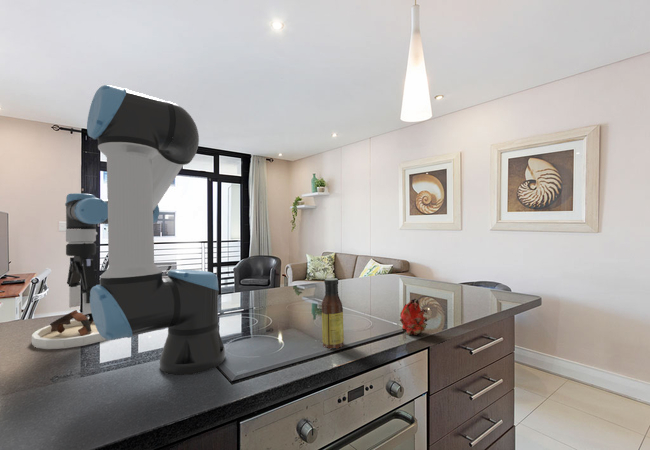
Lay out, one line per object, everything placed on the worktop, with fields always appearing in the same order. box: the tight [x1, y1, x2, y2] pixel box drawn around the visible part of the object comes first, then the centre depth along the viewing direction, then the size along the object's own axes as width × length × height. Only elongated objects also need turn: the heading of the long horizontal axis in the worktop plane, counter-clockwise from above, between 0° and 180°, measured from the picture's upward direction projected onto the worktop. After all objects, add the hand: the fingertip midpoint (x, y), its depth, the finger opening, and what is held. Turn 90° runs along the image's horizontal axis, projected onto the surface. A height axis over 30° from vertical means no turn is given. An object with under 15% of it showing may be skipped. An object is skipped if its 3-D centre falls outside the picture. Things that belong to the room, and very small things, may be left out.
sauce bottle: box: [321, 277, 345, 349], centre depth 91 cm, size 7×6×20 cm
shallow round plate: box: [31, 316, 107, 350], centre depth 99 cm, size 22×22×3 cm
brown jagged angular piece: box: [49, 309, 94, 336], centre depth 99 cm, size 12×9×8 cm
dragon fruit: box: [399, 298, 429, 336], centre depth 101 cm, size 8×8×12 cm
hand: (81, 310), depth 99 cm, fingers open, 13 cm apart
